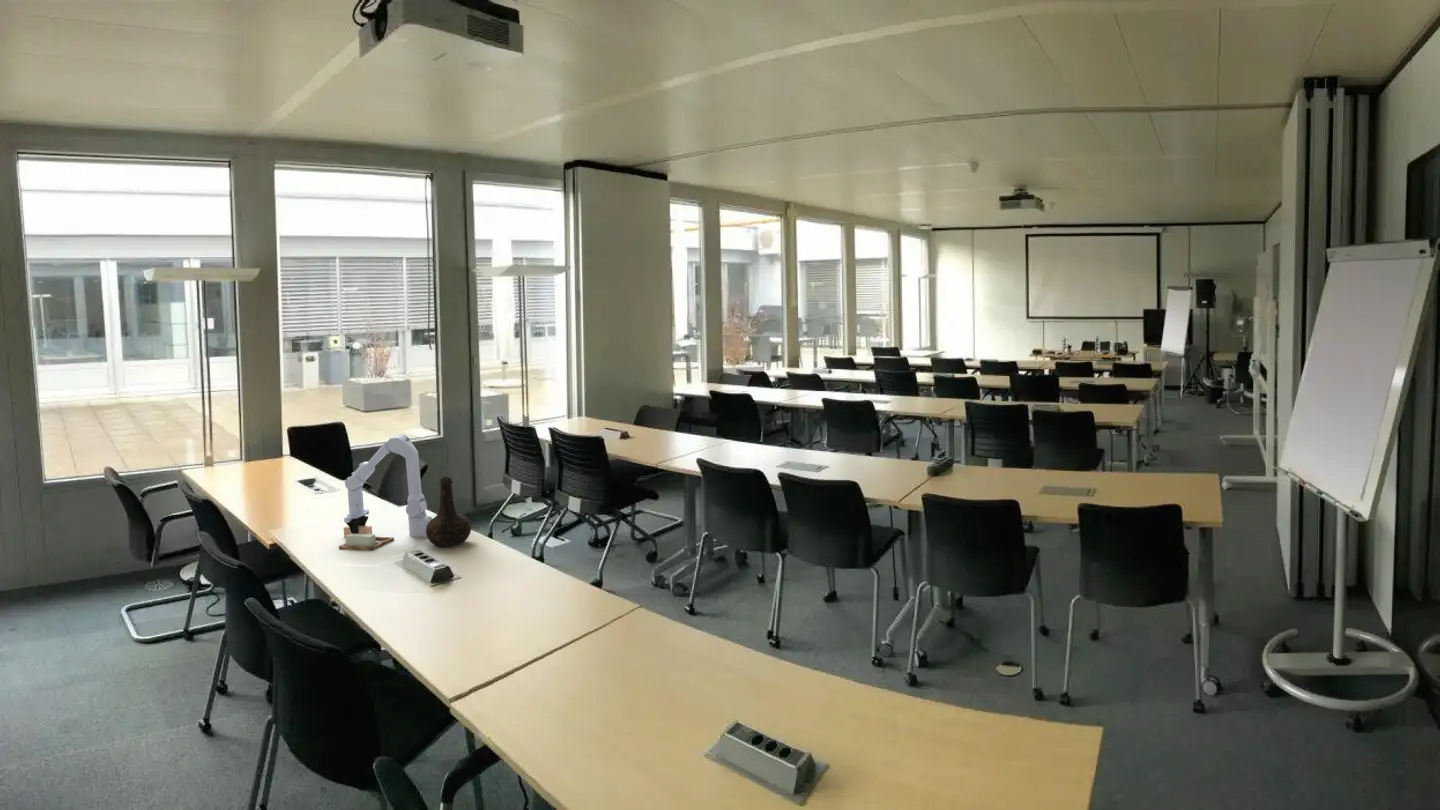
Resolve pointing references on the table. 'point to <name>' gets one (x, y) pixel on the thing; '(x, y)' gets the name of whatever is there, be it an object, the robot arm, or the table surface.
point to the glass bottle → (447, 520)
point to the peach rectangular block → (360, 530)
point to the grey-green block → (360, 540)
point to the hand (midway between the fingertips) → (358, 534)
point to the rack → (379, 542)
